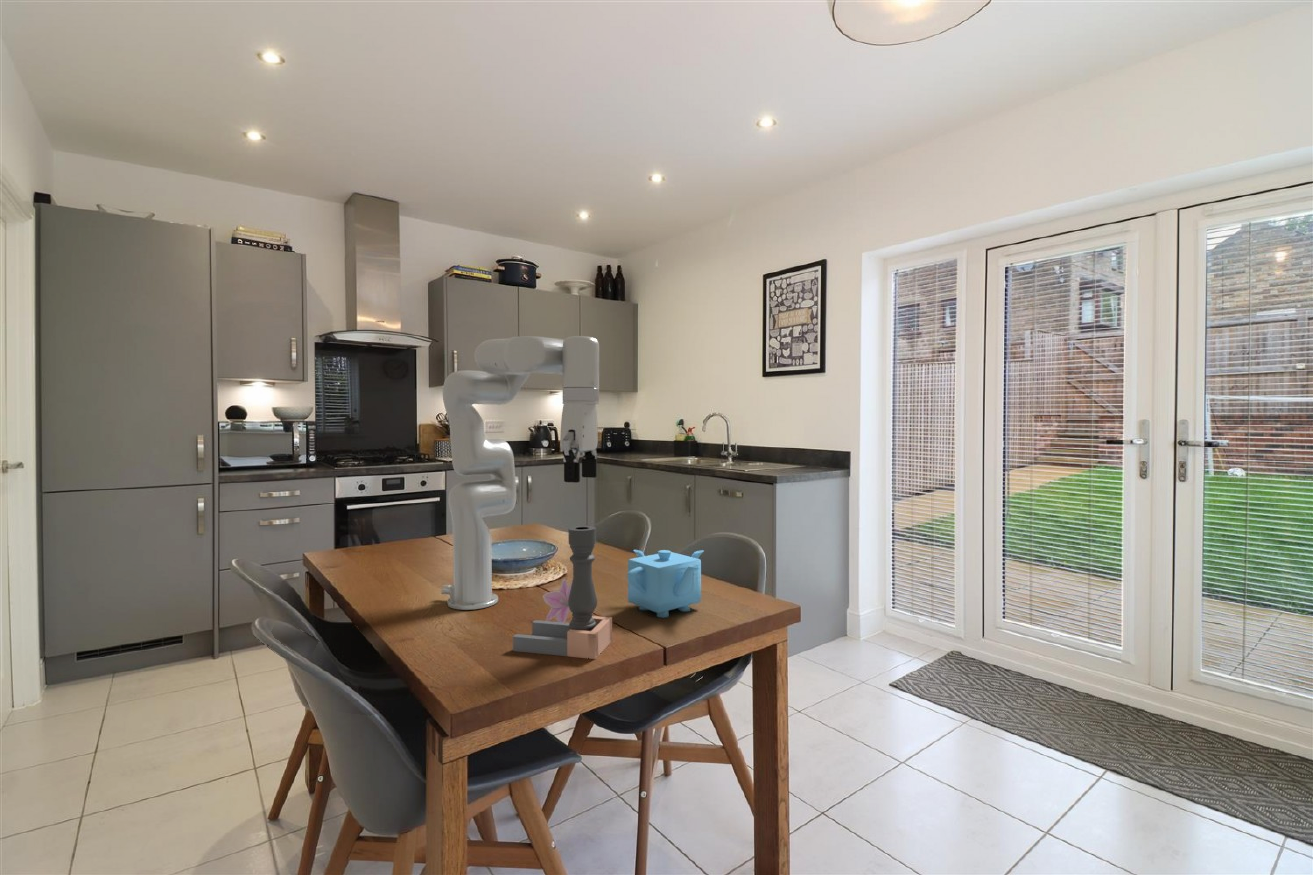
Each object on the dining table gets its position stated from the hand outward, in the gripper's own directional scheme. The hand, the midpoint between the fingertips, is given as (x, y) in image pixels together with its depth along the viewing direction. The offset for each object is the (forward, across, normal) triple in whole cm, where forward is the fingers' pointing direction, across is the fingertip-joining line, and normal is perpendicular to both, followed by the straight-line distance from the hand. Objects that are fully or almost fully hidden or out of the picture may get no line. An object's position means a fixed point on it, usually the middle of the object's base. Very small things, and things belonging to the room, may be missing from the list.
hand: (580, 479), depth 127 cm
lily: (+36, -15, -10) cm, 40 cm away
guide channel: (+35, 0, -4) cm, 35 cm away
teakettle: (+36, -30, +12) cm, 48 cm away
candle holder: (+35, 0, 0) cm, 35 cm away
